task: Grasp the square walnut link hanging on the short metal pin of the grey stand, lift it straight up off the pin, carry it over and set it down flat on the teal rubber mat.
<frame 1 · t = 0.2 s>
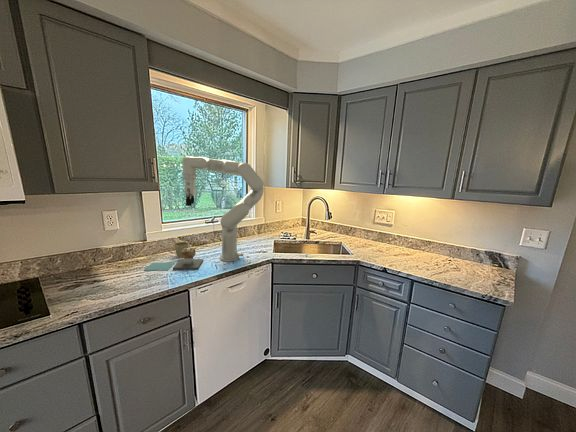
hand: (190, 204, 152), 36 cm above the worktop, tool pointing down, fingers open, 9 cm apart
mat: (159, 266, 144), on the worktop
flower pot: (181, 256, 163), on the worktop
walnut link: (188, 256, 146), point 6 cm above the worktop, touching stand
stand: (188, 265, 147), on the worktop
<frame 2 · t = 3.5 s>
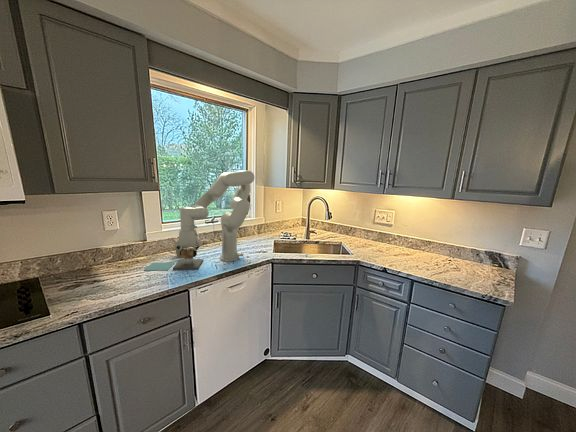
hand: (188, 256, 146), 6 cm above the worktop, tool pointing down, fingers closed on walnut link, 6 cm apart
walnut link: (188, 256, 146), point 6 cm above the worktop, touching gripper, stand
everything else where it was.
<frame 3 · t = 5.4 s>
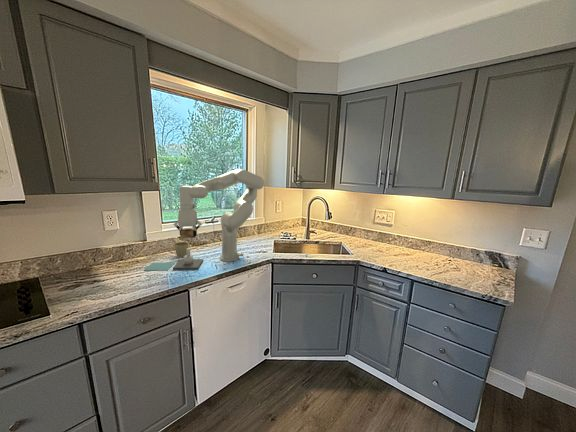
hand: (188, 236, 144), 18 cm above the worktop, tool pointing down, fingers closed on walnut link, 6 cm apart
walnut link: (188, 236, 144), point 18 cm above the worktop, touching gripper
everything else where it was.
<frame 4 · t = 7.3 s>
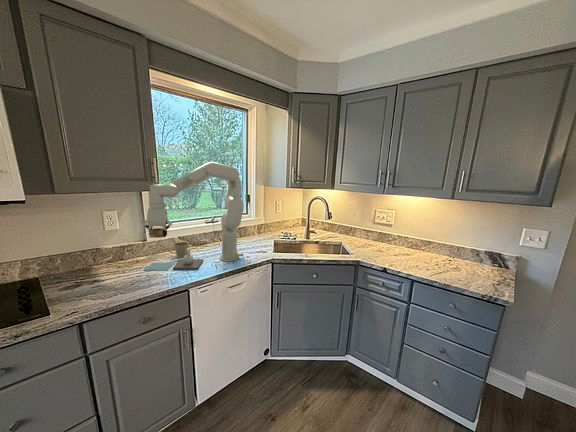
hand: (158, 236, 140), 19 cm above the worktop, tool pointing down, fingers closed on walnut link, 6 cm apart
walnut link: (158, 236, 140), point 19 cm above the worktop, touching gripper
everything else where it was.
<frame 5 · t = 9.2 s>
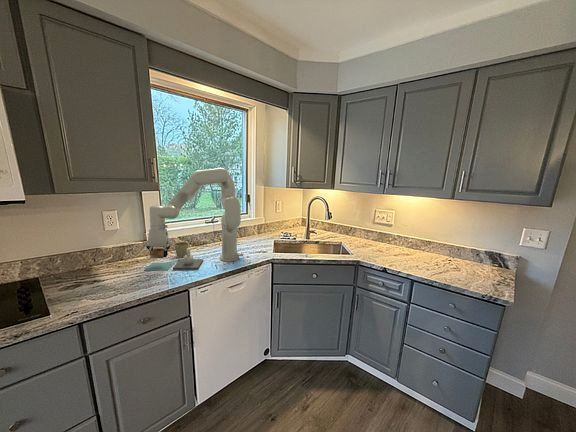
hand: (159, 256, 142), 6 cm above the worktop, tool pointing down, fingers closed on walnut link, 6 cm apart
walnut link: (158, 256, 142), point 7 cm above the worktop, touching gripper
everything else where it was.
when the fingers open (2 cm above the worktop, at t = 11.1 s): walnut link drops 2 cm, resting on mat.
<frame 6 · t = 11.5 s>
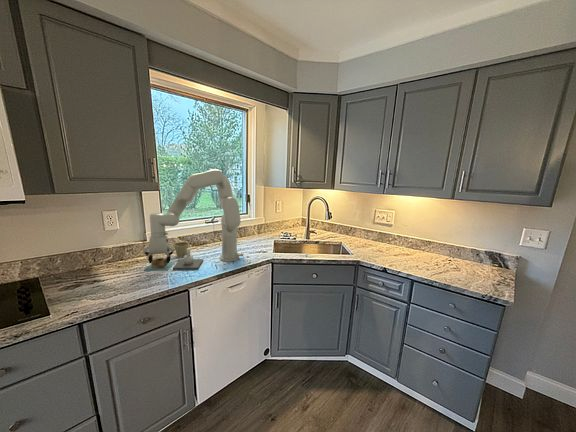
hand: (159, 262, 143), 3 cm above the worktop, tool pointing down, fingers open, 9 cm apart
walnut link: (160, 266, 143), resting on mat
everything else where it was.
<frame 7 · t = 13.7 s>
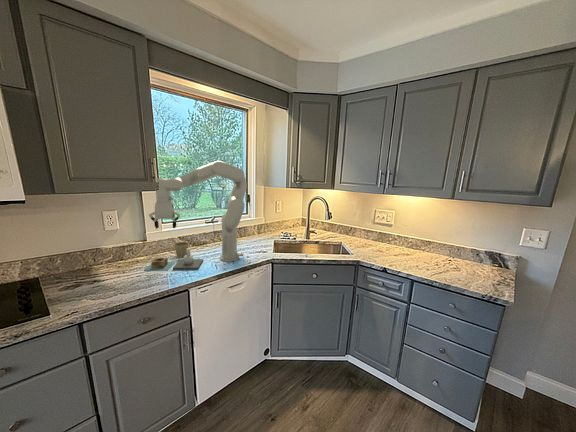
hand: (165, 227, 145), 22 cm above the worktop, tool pointing down, fingers open, 9 cm apart
nothing on the worktop moved.
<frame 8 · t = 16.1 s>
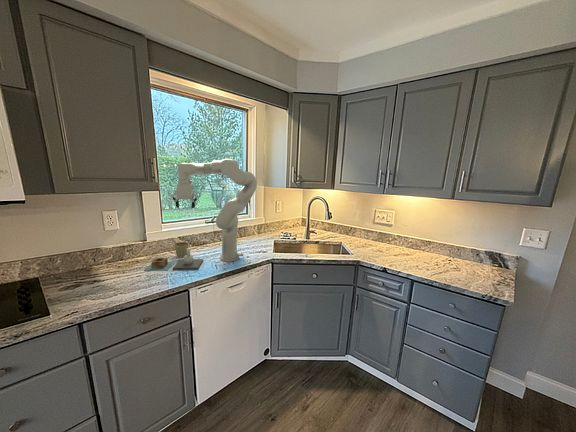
hand: (185, 207, 162), 32 cm above the worktop, tool pointing down, fingers open, 9 cm apart
nothing on the worktop moved.
at the end: walnut link inside the target area on the mat (0.0 cm from its centre), point 0.4 cm above the mat's base; walnut link tilted 0°; walnut link touching mat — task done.
